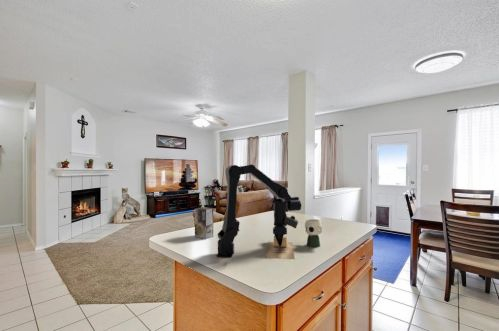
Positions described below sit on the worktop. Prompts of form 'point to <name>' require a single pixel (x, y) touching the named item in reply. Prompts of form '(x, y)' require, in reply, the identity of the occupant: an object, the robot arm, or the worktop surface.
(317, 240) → the character mug
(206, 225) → the coffee box
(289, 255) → the board
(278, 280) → the worktop surface
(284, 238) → the block
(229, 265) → the worktop surface
